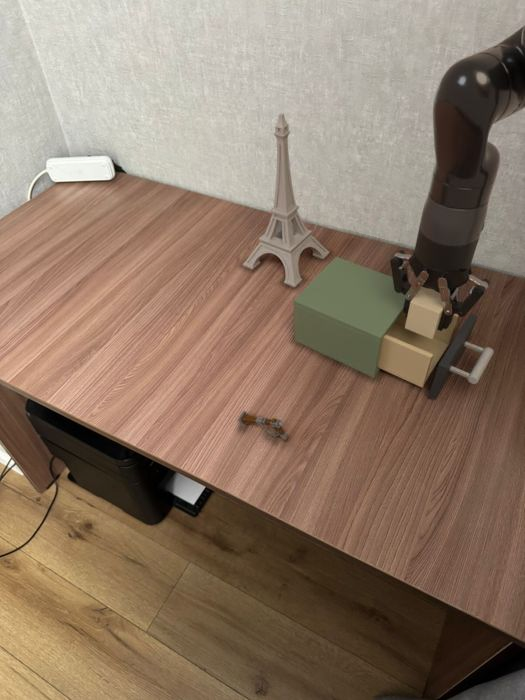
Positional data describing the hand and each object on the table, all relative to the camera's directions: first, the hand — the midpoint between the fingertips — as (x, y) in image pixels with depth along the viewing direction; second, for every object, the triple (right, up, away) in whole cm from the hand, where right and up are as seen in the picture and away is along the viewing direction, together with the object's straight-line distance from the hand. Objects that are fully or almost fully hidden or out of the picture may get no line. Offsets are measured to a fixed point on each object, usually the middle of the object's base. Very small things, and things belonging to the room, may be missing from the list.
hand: (425, 320), depth 74 cm
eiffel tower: (-20, +15, +29) cm, 38 cm away
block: (0, -1, +1) cm, 1 cm away
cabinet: (-9, -2, +13) cm, 16 cm away
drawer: (+1, -6, +6) cm, 9 cm away
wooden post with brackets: (-25, -17, +1) cm, 30 cm away
